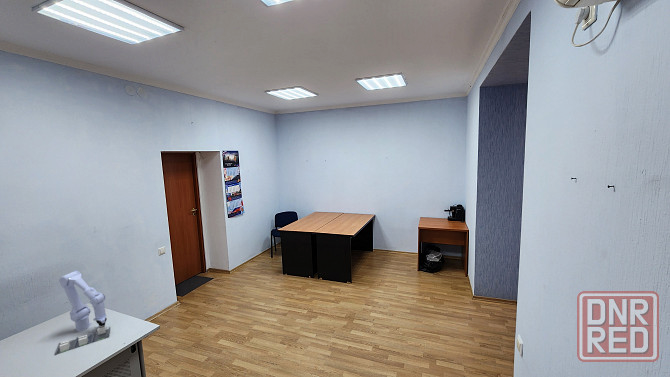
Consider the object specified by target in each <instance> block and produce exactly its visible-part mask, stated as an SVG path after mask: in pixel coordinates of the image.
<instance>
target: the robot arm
mask: <svg viewBox="0 0 670 377" xmlns="http://www.w3.org/2000/svg"><path fill="white" fill-rule="evenodd" d="M58 281H59V283H60V285H61V288H62V289H64V291H65V294H66V296H67V298H68V299H67V300H68V301H69V303H70V305H71V307H72V309H71V310H70V312H69V316H70V318H69V319H70V320H71V321H72V322H74V324H75V329H76V332H82V331H85V330H87V329H89V328H90V326H92V322H90V314H91V312H92V310H91V308H93V311H94V312H93V313H94V316H95V317H94V318H93V321H95V322H96V324H97V325H98V327H100V326H103V325H105V326H106V322H107V314H106V308H105V302H104V301H105V300H106V295H105V294H104V293H102V292H98V291H97V290H96V289H95V288H94V287H93V286H91V287H90V286H89V285H88V283H86V281H85V279H83V275H82V273H81V272H80V271H79V270H74V271H72V272H69V273H67V274H65V275H62V276H60V277H59V280H58ZM76 287H78V288H79V289H81V290H82V291H83V295H85V296H86V297H87V298H88V300H90V301H89V303H90V304H91V308H90V307H89V306H88V304H86V303H85V304H84V303H82V300H81V298H80V296H79V293H78V291H77V289H76Z"/></svg>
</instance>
